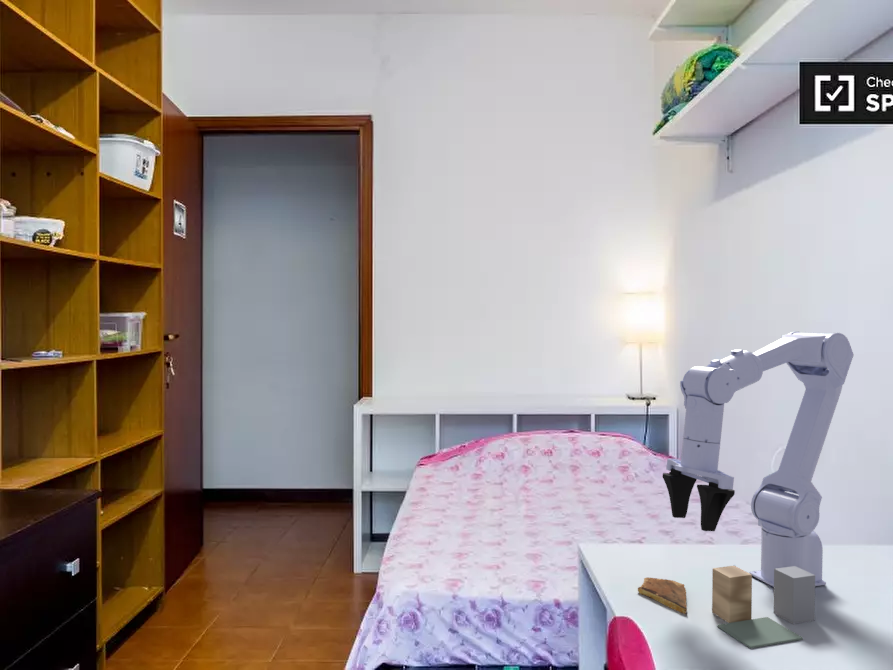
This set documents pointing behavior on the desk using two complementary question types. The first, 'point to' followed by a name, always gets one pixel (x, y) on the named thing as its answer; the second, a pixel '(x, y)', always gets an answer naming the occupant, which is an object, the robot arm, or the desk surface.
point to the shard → (665, 593)
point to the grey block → (794, 594)
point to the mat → (759, 632)
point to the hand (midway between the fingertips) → (692, 523)
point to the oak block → (732, 594)
